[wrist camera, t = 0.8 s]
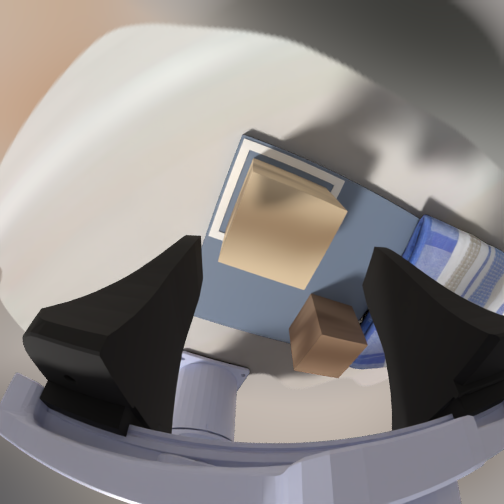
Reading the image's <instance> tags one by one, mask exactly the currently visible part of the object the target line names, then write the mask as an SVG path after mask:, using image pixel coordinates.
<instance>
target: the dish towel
mask: <svg viewBox="0 0 504 504" xmlns="http://www.w3.org/2000/svg"><path fill="white" fill-rule="evenodd" d="M402 257H403V258H405V259H406V260H407V261H409V262H410V263H412V264H413V265H414V266H416V267H417V268H418V269H420V270H421V271H423V272H424V273H425V274H427V275H428V276H429V277H431V278H432V279H434V280H435V281H437V282H438V283H440V284H441V285H443V286H444V287H446V288H447V289H449V290H451V291H452V292H454V293H456V294H457V295H459V296H461V297H463V298H465V299H466V300H468V301H470V302H472V303H474V304H476V305H478V306H481V307H483V308H485V309H487V310H490V311H492V312H495V313H497V314H500V315H503V314H504V252H502V251H501V250H499V249H497V248H495V247H493V246H490V245H488V244H486V243H484V242H483V241H481V240H480V239H479V238H477V237H476V236H474V235H472V234H469V233H466V232H464V231H461V230H459V229H457V228H455V227H453V226H451V225H449V224H447V223H444V222H442V221H440V220H438V219H435V218H433V217H431V216H429V215H423V216H422V218H421V219H420V221H419V222H418V224H417V226H416V228H415V230H414V232H413V235H412V237H411V239H410V241H409V243H408V245H407V247H406V249H405V252H404V253H403V255H402ZM360 327H361V329H362V331H363V334H364V336H365V339H366V341H367V344H368V346H367V347H366V348H365V349H364V350H363V352H362V353H361V354H360V355H359V356H358V357H357V358H356V359H355V361H354V362H353V363H352V364H351V365H350V366H349V367H352V368H355V369H371V368H381V367H387V365H386V360H385V355H384V351H383V348H382V345H381V342H380V339H379V336H378V333H377V331H376V328H375V325H374V323H373V320H372V317H371V315H370V312H368V314H367V315H366V317H365V319H364V320H363V322H362V323H361V325H360Z"/></svg>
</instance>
